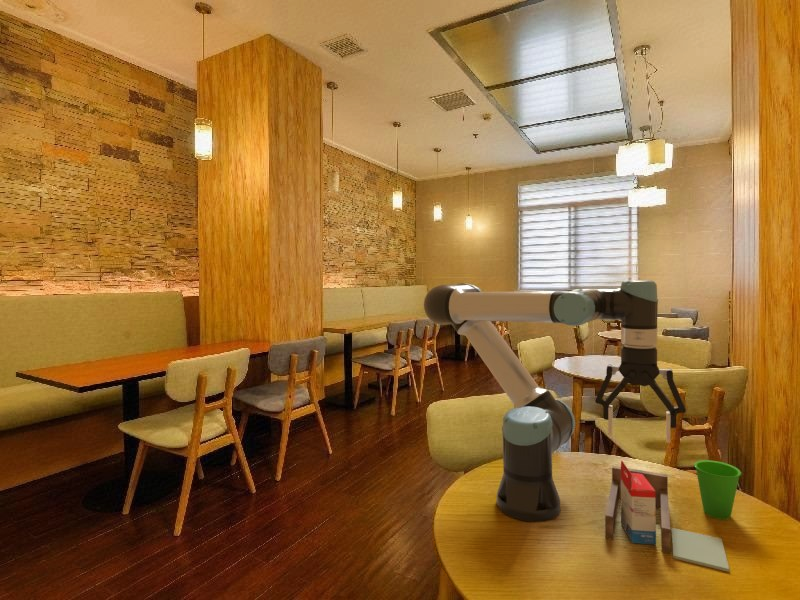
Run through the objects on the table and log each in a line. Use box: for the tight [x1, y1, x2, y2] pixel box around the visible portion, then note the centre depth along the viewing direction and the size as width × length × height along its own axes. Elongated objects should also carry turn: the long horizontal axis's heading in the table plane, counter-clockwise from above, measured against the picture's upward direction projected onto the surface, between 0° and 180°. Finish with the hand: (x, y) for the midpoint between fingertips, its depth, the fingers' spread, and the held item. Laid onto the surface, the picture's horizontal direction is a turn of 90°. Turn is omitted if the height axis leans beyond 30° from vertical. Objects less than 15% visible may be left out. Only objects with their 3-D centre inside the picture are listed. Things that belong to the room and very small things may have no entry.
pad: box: [670, 527, 730, 573], centre depth 91 cm, size 9×11×1 cm
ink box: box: [620, 460, 657, 545], centre depth 97 cm, size 8×5×15 cm, turn 168°
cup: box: [693, 459, 742, 520], centre depth 104 cm, size 9×9×11 cm
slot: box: [604, 465, 671, 554], centre depth 101 cm, size 12×20×8 cm, turn 150°
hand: (638, 436), depth 105 cm, fingers open, 11 cm apart
